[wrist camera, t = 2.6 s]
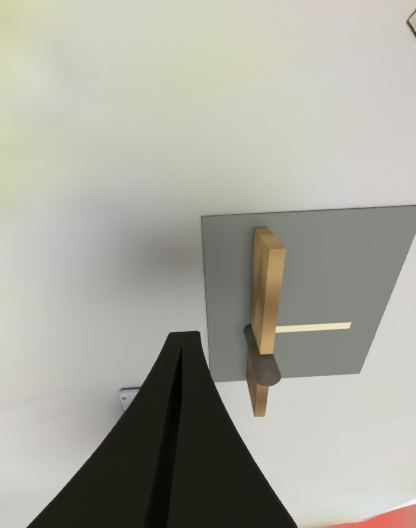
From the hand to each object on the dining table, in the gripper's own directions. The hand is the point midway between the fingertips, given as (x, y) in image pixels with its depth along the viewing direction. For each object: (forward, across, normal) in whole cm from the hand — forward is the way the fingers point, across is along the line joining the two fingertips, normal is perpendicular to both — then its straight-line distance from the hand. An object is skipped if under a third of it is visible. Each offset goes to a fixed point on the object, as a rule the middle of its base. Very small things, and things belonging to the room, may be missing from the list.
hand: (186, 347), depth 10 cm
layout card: (+9, -10, +6) cm, 15 cm away
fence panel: (+9, -5, +2) cm, 11 cm away
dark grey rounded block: (+9, -5, +11) cm, 15 cm away
